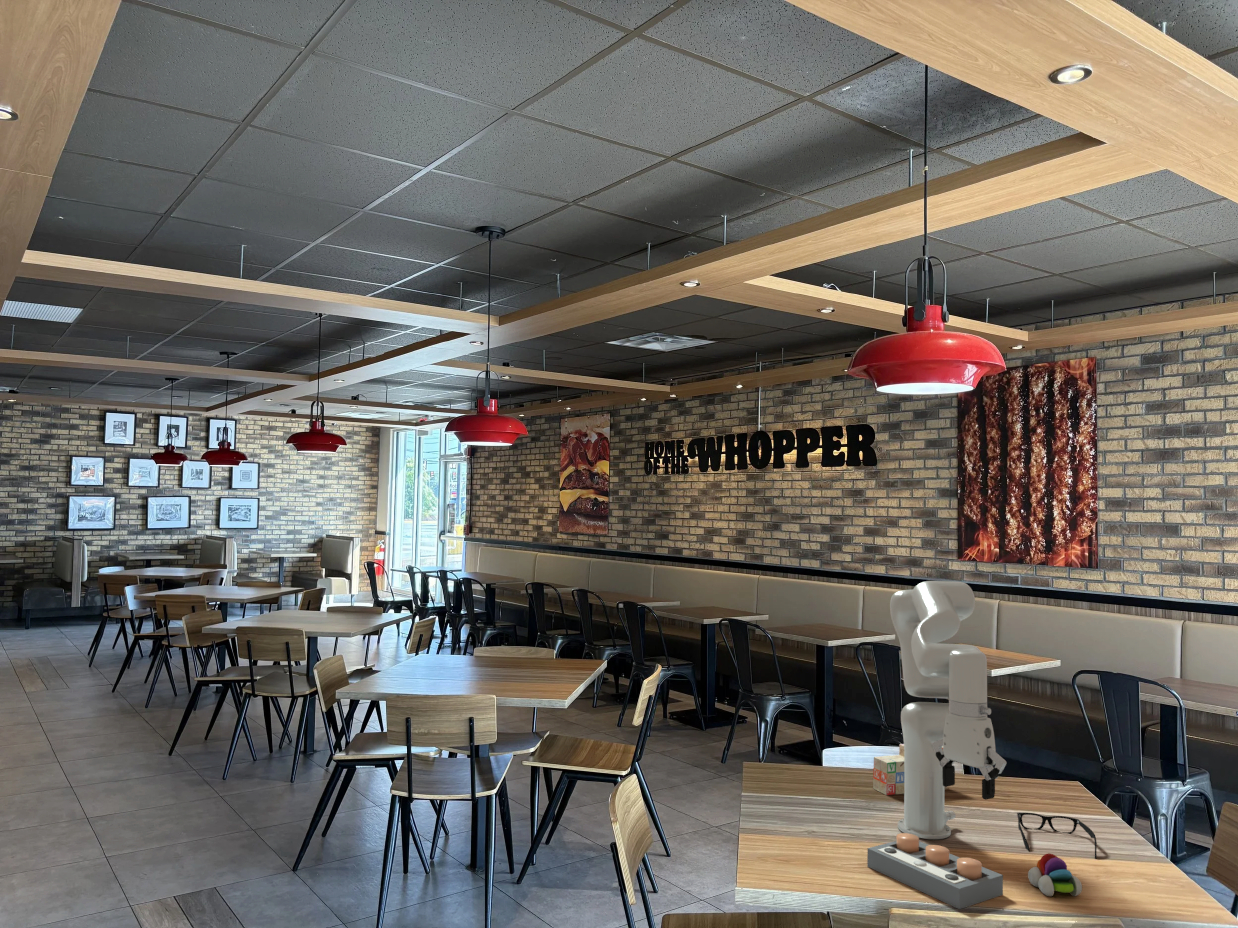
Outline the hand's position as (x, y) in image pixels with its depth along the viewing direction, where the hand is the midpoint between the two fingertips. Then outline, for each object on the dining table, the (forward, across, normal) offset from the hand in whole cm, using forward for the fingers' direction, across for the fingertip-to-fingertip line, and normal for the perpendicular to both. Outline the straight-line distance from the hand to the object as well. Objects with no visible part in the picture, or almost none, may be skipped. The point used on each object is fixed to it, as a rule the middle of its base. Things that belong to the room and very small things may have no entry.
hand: (968, 791), depth 183 cm
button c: (+17, 0, 0) cm, 17 cm away
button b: (+17, +8, 0) cm, 19 cm away
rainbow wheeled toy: (+21, -8, -18) cm, 29 cm away
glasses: (+21, +9, -45) cm, 50 cm away
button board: (+21, +8, +1) cm, 22 cm away
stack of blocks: (+20, +54, -46) cm, 74 cm away
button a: (+17, +16, 0) cm, 24 cm away
